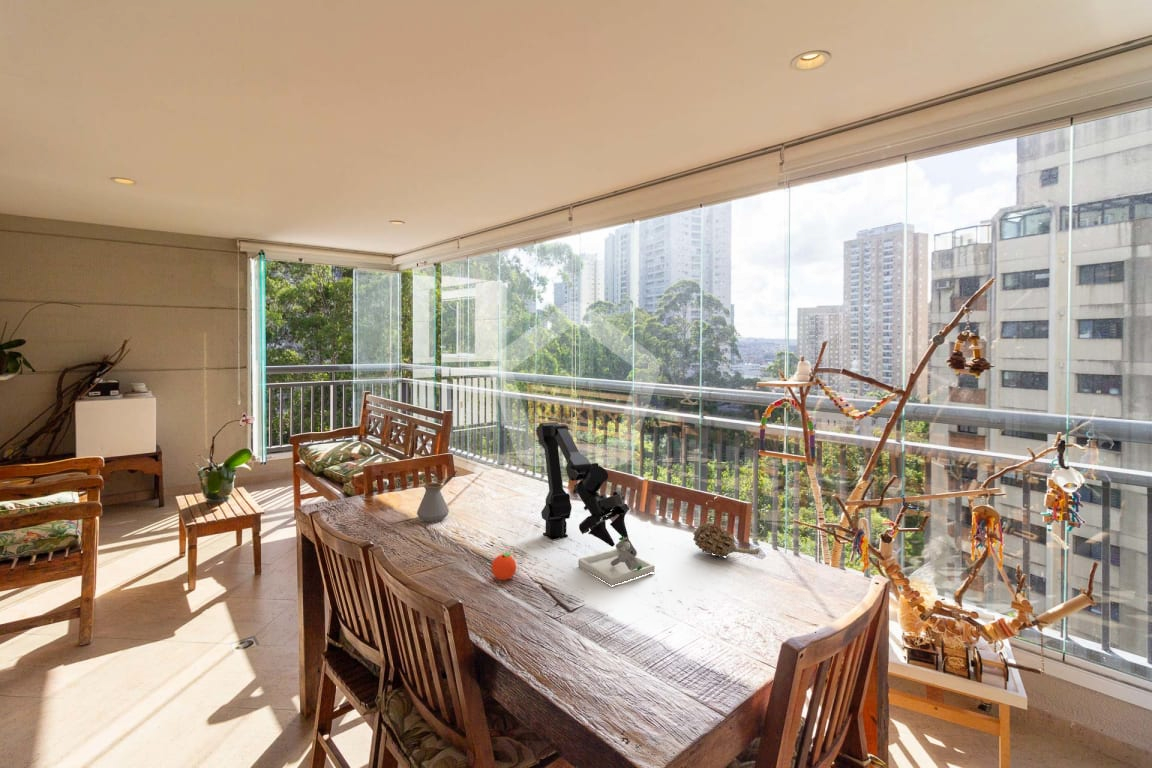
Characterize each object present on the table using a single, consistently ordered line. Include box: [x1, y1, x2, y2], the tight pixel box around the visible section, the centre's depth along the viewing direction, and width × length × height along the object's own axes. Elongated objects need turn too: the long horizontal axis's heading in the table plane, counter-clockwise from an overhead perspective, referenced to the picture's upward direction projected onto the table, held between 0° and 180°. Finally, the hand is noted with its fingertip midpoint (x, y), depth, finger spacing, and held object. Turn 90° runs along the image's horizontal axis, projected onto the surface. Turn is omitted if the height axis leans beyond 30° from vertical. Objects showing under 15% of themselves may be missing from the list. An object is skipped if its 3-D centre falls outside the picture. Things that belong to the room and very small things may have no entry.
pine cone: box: [693, 522, 761, 557], centre depth 176 cm, size 22×10×10 cm, turn 56°
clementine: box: [491, 553, 517, 581], centre depth 159 cm, size 8×7×7 cm
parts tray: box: [577, 548, 655, 586], centre depth 166 cm, size 16×16×2 cm
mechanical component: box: [611, 536, 643, 571], centre depth 164 cm, size 3×10×10 cm
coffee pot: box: [416, 470, 460, 523], centre depth 211 cm, size 21×12×15 cm, turn 157°
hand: (620, 542), depth 164 cm, fingers open, 7 cm apart
